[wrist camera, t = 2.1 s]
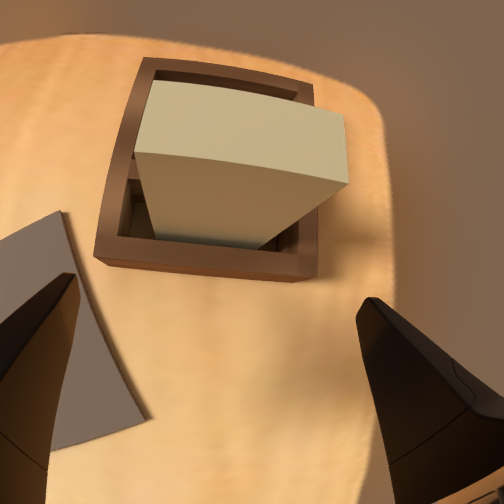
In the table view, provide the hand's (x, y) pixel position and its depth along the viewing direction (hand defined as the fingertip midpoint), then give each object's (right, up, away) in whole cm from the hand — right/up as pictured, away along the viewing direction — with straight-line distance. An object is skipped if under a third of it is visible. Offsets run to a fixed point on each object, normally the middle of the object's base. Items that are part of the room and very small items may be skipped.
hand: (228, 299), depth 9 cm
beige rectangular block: (-2, +3, +12) cm, 12 cm away
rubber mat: (-16, -6, +7) cm, 18 cm away
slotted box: (-2, +7, +12) cm, 14 cm away
